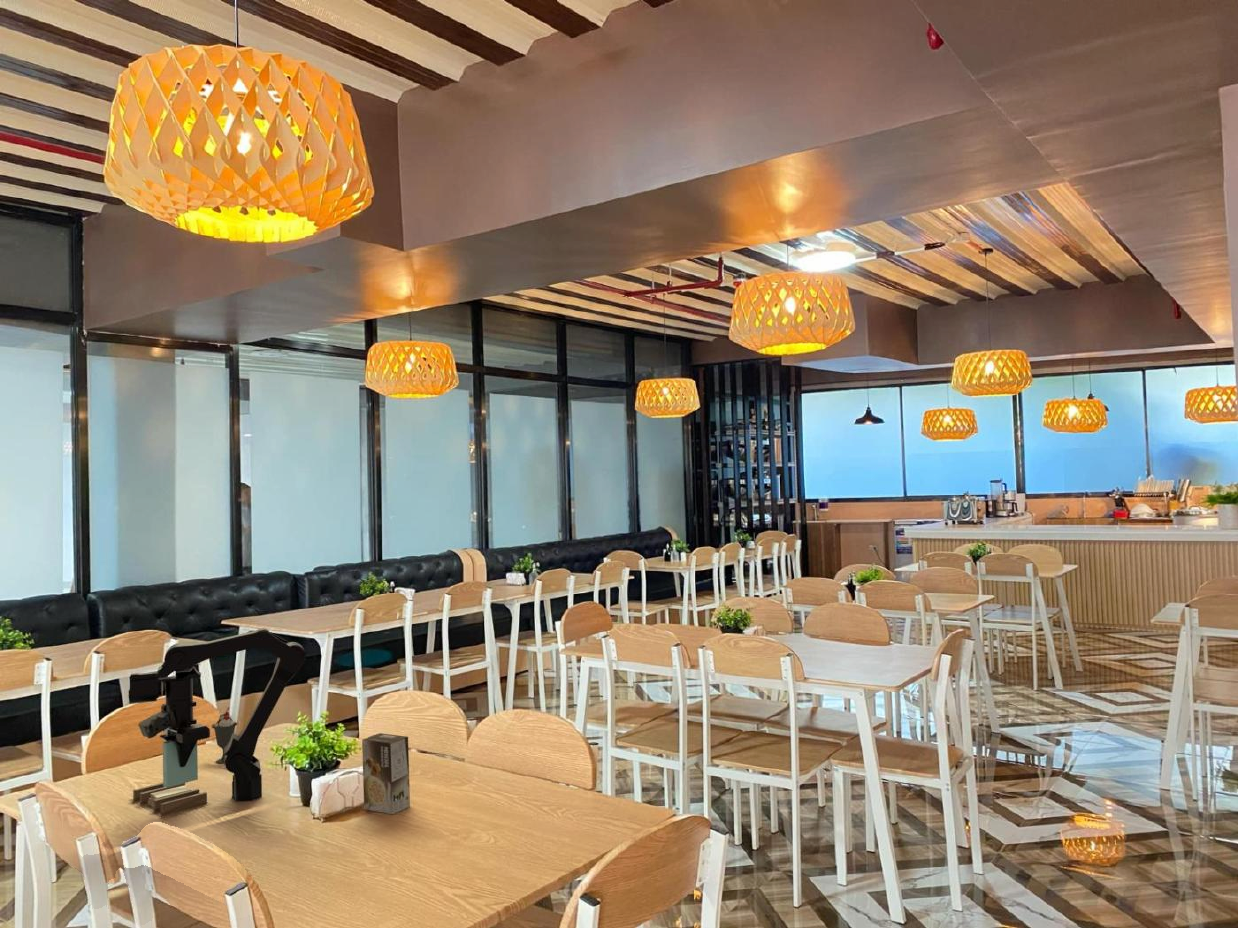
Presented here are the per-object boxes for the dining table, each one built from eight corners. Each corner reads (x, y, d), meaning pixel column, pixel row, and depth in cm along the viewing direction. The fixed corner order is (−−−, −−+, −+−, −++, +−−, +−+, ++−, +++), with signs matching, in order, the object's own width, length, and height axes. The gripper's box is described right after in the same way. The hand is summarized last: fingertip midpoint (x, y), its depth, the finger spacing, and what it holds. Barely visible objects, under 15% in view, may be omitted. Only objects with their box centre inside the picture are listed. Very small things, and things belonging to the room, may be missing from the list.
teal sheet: (197, 779, 210) (197, 736, 210) (166, 787, 204) (166, 743, 205) (194, 777, 211) (193, 735, 211) (163, 785, 206) (162, 742, 206)
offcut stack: (192, 799, 213) (192, 788, 213) (156, 808, 207) (156, 798, 207) (183, 794, 216) (183, 784, 216) (147, 804, 210) (147, 793, 210)
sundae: (231, 764, 245) (231, 708, 245) (207, 764, 245) (207, 709, 245) (242, 756, 251) (241, 703, 252) (219, 757, 251) (218, 703, 252)
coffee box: (411, 805, 206) (410, 736, 207) (392, 815, 201) (391, 743, 201) (381, 800, 211) (380, 732, 211) (362, 809, 205) (360, 739, 206)
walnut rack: (212, 808, 209) (211, 793, 209) (163, 822, 201) (162, 806, 201) (176, 791, 222) (175, 777, 222) (128, 803, 214) (128, 789, 214)
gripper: (126, 700, 208) (127, 767, 208) (159, 710, 196) (160, 782, 196) (176, 691, 217) (177, 755, 216) (210, 700, 205) (211, 769, 204)
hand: (180, 765), depth 208 cm, fingers closed on teal sheet, 2 cm apart
